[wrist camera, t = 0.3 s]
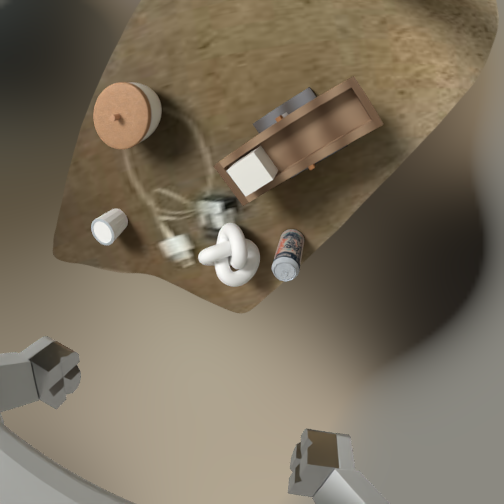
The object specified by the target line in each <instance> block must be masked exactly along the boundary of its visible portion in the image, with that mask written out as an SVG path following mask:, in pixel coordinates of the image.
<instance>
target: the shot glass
mask: <svg viewBox="0 0 504 504" xmlns="http://www.w3.org/2000/svg"><path fill="white" fill-rule="evenodd" d="M127 225H128V219H127V216H126V215H125V213H124V212H123V211H122V210H120V209H117V208H116V209H113V210H111V211H109V212H107V213H105V214H104V215H102V216H100V217H98V218H96V219H95V220H94V221H93V222H92V225H91V230H92V233H93V236H94V237H95V239H96V240H97V241H98V242H100V243H101V244H103V245H110V244H112V243H113V242H114V241H115V239H116V238H117V237H118V236H119V235H120V234H121V233H122V231H123V230H124V229H125V228H126V227H127Z"/></svg>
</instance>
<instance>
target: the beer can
mask: <svg viewBox="0 0 504 504" xmlns="http://www.w3.org/2000/svg"><path fill="white" fill-rule="evenodd" d="M303 246H304V237H303V235H302V234H301V233H300V232H299V231H297V230H295V229H289V230H286V231H285V232H283V233H282V235H281V238H280V241H279V244H278V248H277V251H276V254H275V257H274V260H273V264H272V271H273V274H274V276H275V277H277V278H278V279H279V280H281V281H289V280H293V279H294V278H295V277H296V276H297V275H298V273H299V269H300V264H301V258H302V252H303Z"/></svg>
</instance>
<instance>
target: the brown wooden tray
mask: <svg viewBox="0 0 504 504" xmlns="http://www.w3.org/2000/svg"><path fill="white" fill-rule="evenodd" d="M253 125H254V127H255V128H256V129H257V131H258V132H259V134H258V135H257V136H255V137H254V138H252V139H251V140H249V141H248V142H246V143H245V144H243V145H242V146H240V147H239V148H238V149H236V150H235V151H233V152H232V153H230V154H229V155H228V156H226V157H225V158H223V159H222V160H221V161H219V162H218V163H217V164H215V165H214V168H215V169H216V170H217V172H218V173H219V174H220V176H221V177H222V178H223V180H224V181H225V182H226V184H227V185H228V186H229V188H230V189H231V190H232V192H233V193H234V194H235V196H236V197H237V198H238V200H239V201H240V202H241V204H242V205H243V206H244V205H246V204H247V203H249V202H250V201H252V200H254V199H255V198H257V197H259V196H260V195H262V194H264V193H265V192H267V191H268V190H270V189H272V188H273V187H275V186H277V185H278V184H280V183H282V182H283V181H285V180H287V179H289V178H292V177H294V176H296V175H297V174H299V173H301V172H303V171H304V170H306V169H308V168H309V169H310V170H312V169H313V168H315V164H316V163H318V162H320V161H322V160H323V159H325V158H327V157H329V156H330V155H332V154H334V153H336V152H337V151H339V150H341V149H343V148H344V147H346V146H348V144H349V143H351V142H353V141H355V140H356V139H358V138H360V137H362V136H364V135H365V134H367V133H369V132H371V131H373V130H375V129H376V128H378V127H380V126H382V125H384V124H383V122H382V120H381V119H380V117H379V115H378V114H377V112H376V110H375V109H374V107H373V105H372V104H371V102H370V100H369V99H368V97H367V96H366V94H365V92H364V91H363V89H362V88H361V86H360V85H359V83H358V82H357V80H356V79H355V77H354V76H353V77H351V78H349V79H347V80H346V81H344V82H342V83H340V84H339V85H337V86H335V87H333V88H332V89H330V90H328V91H326V92H325V93H323V94H321V95H320V96H318V97H316V96H315V94H314V93H313V91H312V90H311V88H310V87H309V88H307V89H306V90H304V91H303V92H301V93H299V94H298V95H296V96H295V97H293V98H291V99H290V100H288V101H287V102H285V103H284V104H282V105H280V106H279V107H277V108H276V109H274V110H273V111H271V112H270V113H268V114H267V115H265V116H264V117H262V118H261V119H259V120H258V121H256V122H255V123H253ZM260 145H261V147H262V148H263V149H264V151H265V152H266V153H267V155H268V156H269V158H270V159H271V161H272V162H273V163H274V165H275V166H276V168H277V169H278V172H277V174H276V176H275V177H274V179H273V180H272V181H270V182H269V183H267V184H266V185H264V186H262V187H261V188H259V189H257V190H256V191H254V192H253V193H251V194H249V195H248V196H246V197H245V195H244V194H243V193H242V191H241V190H240V189H239V187H238V186H237V185H236V183H235V182H234V180H233V179H232V178H231V176H230V175H229V174H228V172H227V170H228V169H229V168H230V167H231V166H232V165H233V164H234V163H235V162H237V161H238V160H240V159H241V158H242V157H244V156H245V155H247V154H248V153H250V152H251V151H253V150H254V149H256V148H257V147H259V146H260Z"/></svg>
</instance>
